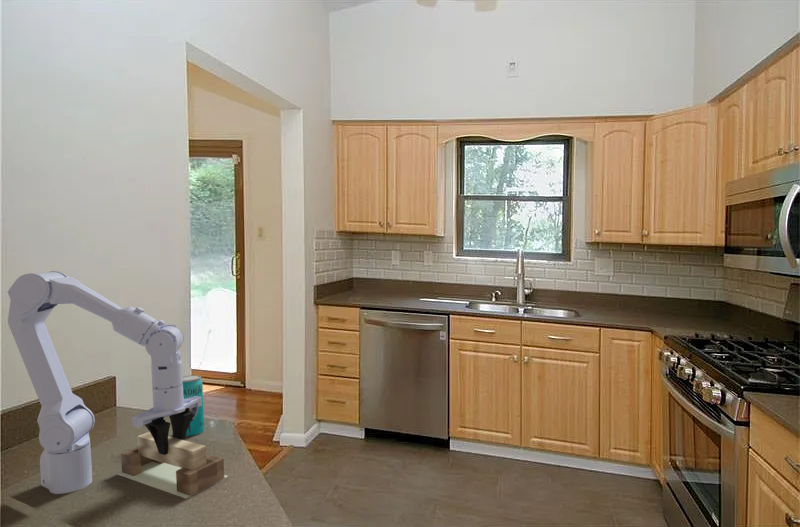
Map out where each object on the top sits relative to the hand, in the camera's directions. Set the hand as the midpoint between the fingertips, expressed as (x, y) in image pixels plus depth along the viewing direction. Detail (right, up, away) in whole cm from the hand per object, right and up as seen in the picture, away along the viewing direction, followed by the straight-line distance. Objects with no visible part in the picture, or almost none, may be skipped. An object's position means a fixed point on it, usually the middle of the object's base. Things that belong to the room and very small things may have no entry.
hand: (171, 450), depth 103 cm
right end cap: (+8, -5, -4) cm, 10 cm away
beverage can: (-6, -6, +24) cm, 26 cm away
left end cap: (-8, -5, +5) cm, 10 cm away
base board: (0, -6, 0) cm, 6 cm away
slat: (0, -2, 0) cm, 2 cm away
